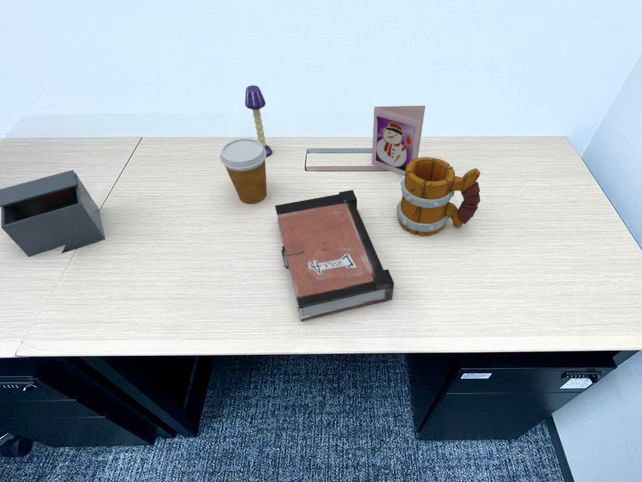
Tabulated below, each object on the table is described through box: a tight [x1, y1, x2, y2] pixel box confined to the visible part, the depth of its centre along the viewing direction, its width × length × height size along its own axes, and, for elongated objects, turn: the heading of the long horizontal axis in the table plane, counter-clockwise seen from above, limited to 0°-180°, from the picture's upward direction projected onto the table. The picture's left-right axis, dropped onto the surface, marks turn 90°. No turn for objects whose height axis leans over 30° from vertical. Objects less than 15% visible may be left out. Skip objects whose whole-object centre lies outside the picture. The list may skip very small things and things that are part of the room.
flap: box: [0, 169, 77, 208], centre depth 77 cm, size 13×5×1 cm, turn 120°
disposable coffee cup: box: [219, 137, 268, 205], centre depth 87 cm, size 10×10×12 cm
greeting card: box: [371, 105, 426, 177], centre depth 93 cm, size 11×7×15 cm, turn 58°
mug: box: [396, 156, 481, 237], centre depth 80 cm, size 11×16×15 cm, turn 70°
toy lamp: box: [244, 84, 273, 158], centre depth 96 cm, size 5×5×17 cm
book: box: [274, 189, 395, 322], centre depth 77 cm, size 26×18×5 cm
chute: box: [0, 172, 106, 258], centre depth 79 cm, size 13×11×10 cm
